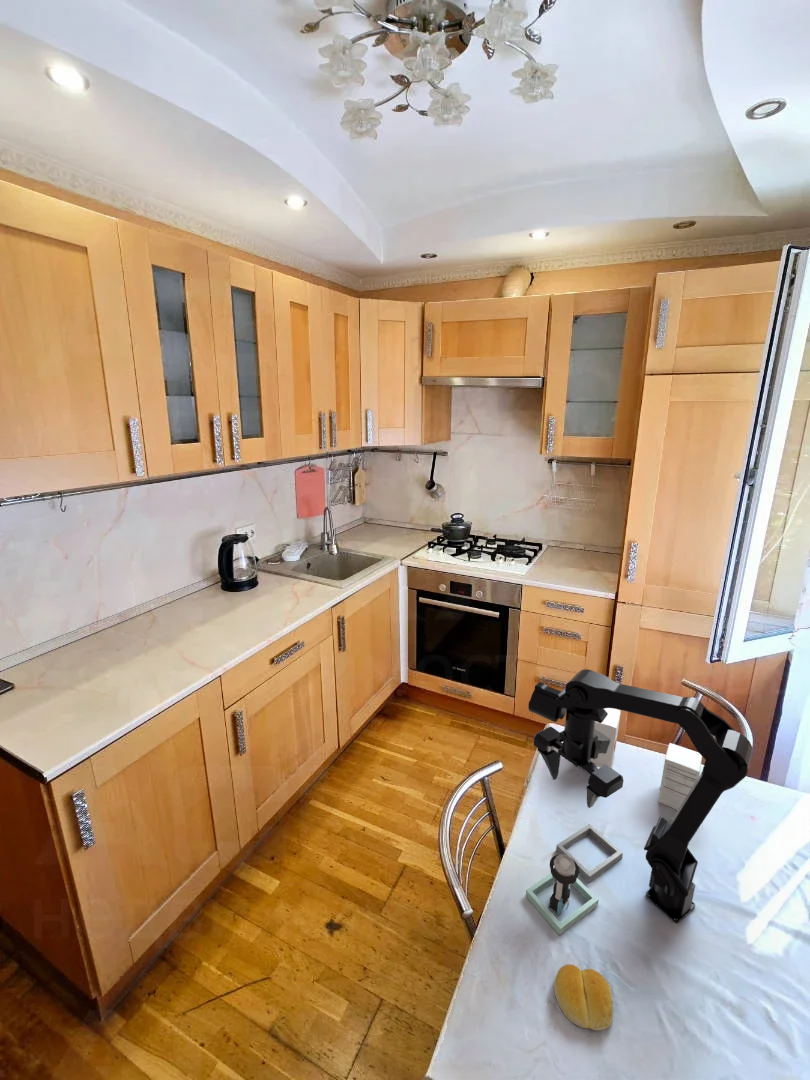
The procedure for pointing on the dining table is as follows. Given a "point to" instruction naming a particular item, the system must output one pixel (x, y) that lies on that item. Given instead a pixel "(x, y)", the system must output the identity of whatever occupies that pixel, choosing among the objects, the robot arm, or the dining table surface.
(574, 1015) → the bread roll
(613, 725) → the supplement box
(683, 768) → the supplement box
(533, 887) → the mint green frame
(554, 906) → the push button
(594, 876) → the grey rectangular frame
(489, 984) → the dining table surface
